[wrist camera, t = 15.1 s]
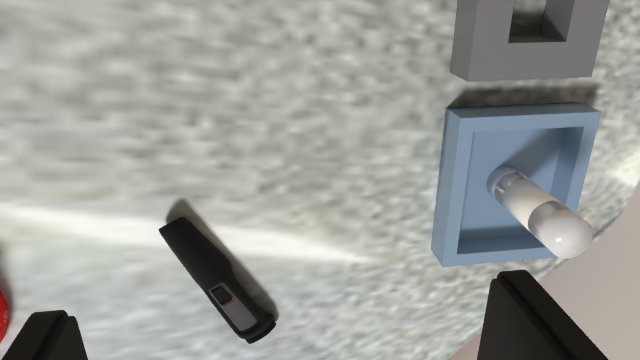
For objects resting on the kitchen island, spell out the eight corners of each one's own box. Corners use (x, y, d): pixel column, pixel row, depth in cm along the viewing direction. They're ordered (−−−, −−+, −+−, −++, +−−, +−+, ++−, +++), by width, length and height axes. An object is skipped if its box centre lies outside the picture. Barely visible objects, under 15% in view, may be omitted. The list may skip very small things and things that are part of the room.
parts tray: (446, 108, 39) (460, 118, 36) (578, 102, 40) (601, 111, 38) (430, 249, 45) (442, 266, 42) (546, 239, 46) (565, 256, 44)
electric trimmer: (188, 199, 40) (183, 216, 37) (279, 318, 46) (280, 341, 43) (152, 219, 40) (144, 238, 37) (246, 335, 47) (246, 359, 44)
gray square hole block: (465, -67, 34) (486, -70, 31) (591, -66, 35) (625, -70, 32) (450, 72, 38) (468, 81, 35) (563, 68, 39) (591, 77, 36)
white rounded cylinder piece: (489, 166, 41) (555, 221, 32) (522, 164, 42) (597, 218, 33) (484, 198, 43) (546, 260, 34) (516, 196, 43) (587, 256, 34)
